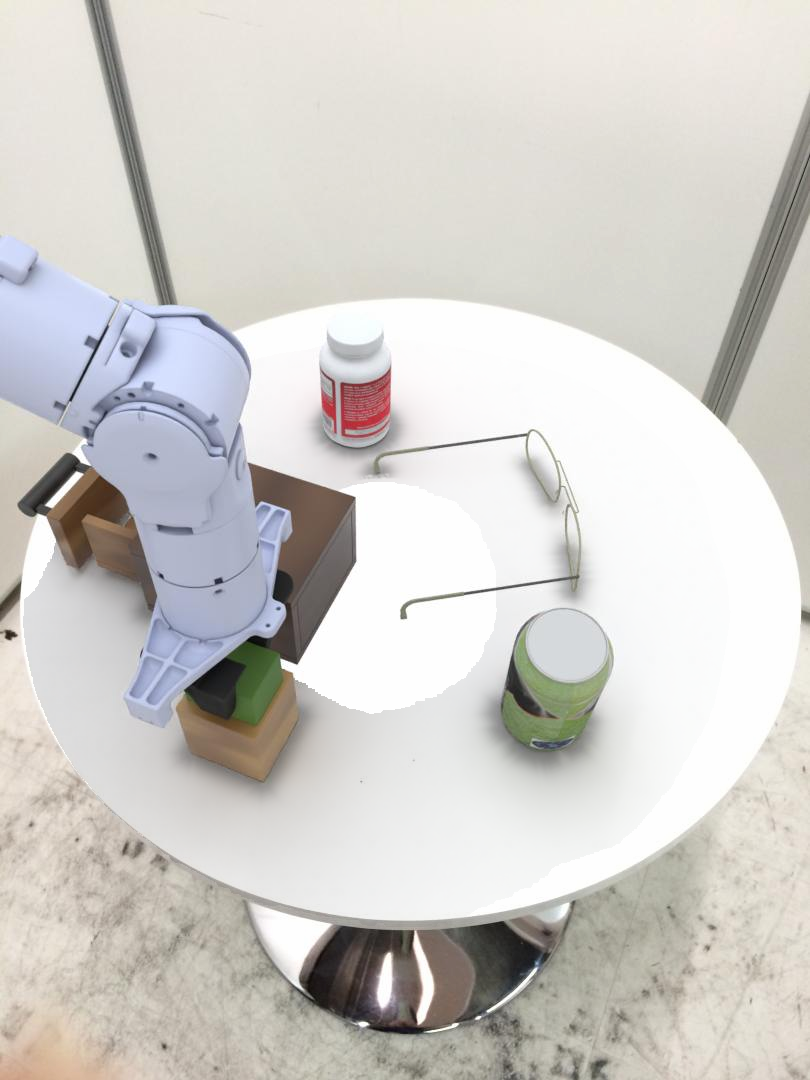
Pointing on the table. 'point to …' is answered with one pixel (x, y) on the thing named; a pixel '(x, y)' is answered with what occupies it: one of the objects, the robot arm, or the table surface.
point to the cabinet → (296, 554)
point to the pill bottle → (355, 380)
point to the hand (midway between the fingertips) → (233, 683)
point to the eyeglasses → (377, 469)
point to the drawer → (84, 516)
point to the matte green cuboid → (255, 681)
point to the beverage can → (555, 677)
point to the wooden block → (242, 733)
